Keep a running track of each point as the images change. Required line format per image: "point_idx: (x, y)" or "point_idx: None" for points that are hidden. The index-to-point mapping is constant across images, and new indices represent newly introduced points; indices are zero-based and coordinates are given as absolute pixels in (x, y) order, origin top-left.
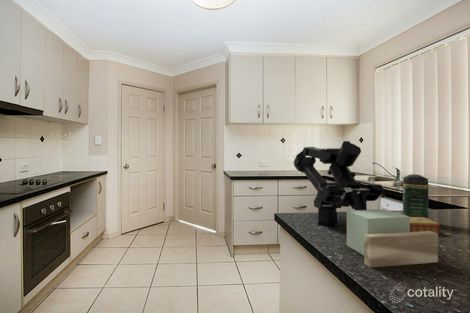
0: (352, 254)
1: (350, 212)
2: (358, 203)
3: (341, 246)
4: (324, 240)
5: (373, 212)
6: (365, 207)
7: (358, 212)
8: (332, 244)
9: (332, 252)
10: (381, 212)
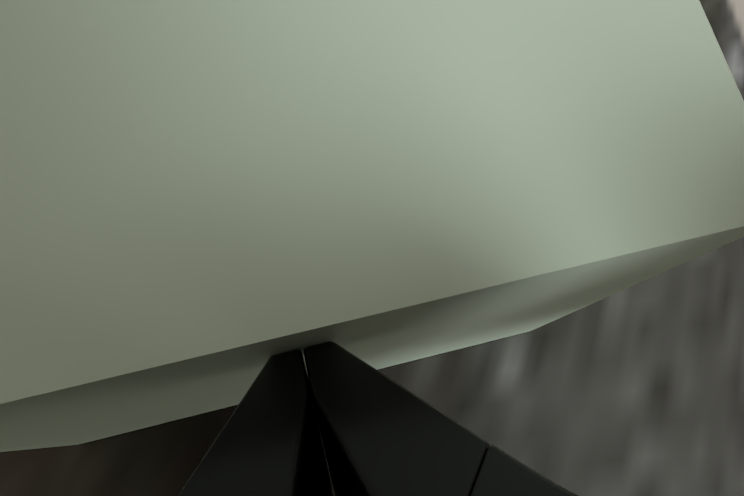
0: None
1: (730, 82)
2: (480, 459)
3: None
4: (738, 474)
5: (232, 71)
6: (245, 441)
7: (571, 59)
8: (669, 348)
9: None
10: (35, 82)
